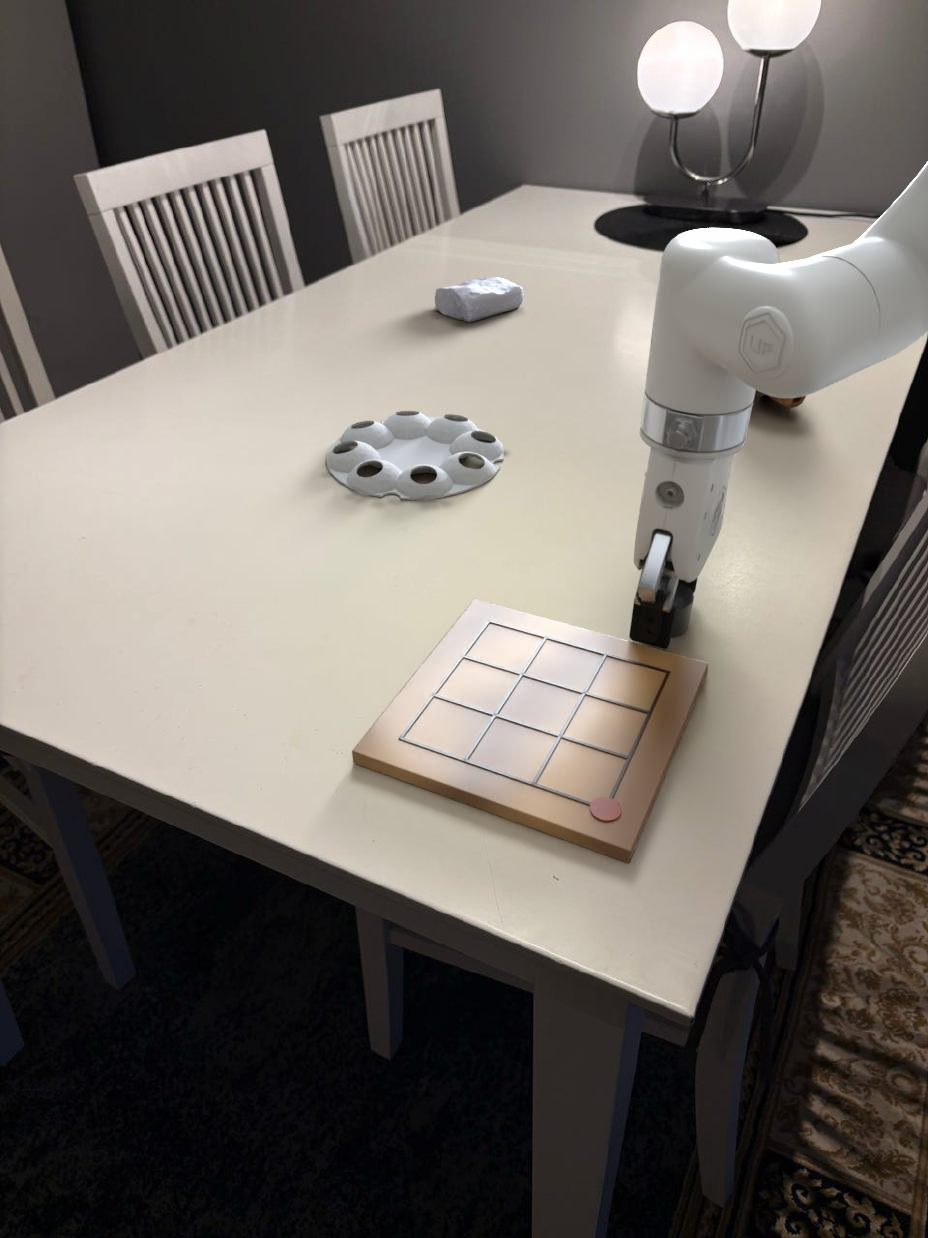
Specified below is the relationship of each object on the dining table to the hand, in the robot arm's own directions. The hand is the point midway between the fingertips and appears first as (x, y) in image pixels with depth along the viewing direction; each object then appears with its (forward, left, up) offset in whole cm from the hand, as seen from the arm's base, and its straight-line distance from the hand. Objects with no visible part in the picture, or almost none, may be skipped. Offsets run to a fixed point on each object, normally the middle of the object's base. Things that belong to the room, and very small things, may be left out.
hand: (663, 614), depth 76 cm
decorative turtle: (+2, -50, -1) cm, 50 cm away
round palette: (+33, -18, -1) cm, 38 cm away
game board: (+5, +15, -1) cm, 16 cm away
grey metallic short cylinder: (0, 0, -1) cm, 1 cm away
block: (+48, -66, -1) cm, 82 cm away
